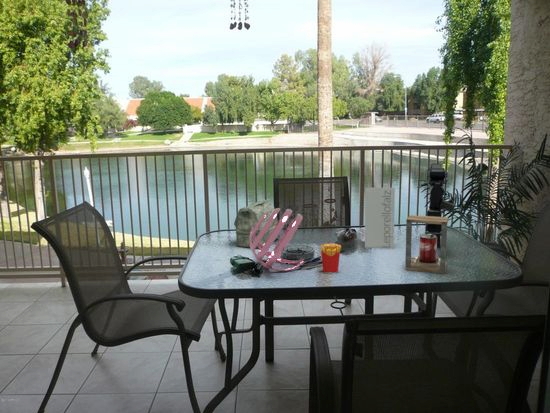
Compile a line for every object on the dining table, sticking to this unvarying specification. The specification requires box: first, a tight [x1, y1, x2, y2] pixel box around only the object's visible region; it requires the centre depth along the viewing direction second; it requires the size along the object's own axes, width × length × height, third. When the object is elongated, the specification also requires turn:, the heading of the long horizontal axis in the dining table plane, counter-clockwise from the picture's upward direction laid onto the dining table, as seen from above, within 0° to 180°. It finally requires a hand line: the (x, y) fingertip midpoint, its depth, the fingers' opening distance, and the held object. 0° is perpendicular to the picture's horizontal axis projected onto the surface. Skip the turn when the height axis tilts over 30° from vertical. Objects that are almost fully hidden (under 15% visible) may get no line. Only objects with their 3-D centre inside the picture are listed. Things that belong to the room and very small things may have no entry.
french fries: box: [320, 243, 342, 274], centre depth 195 cm, size 8×4×12 cm, turn 85°
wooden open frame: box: [404, 214, 449, 275], centre depth 196 cm, size 16×16×22 cm
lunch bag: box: [233, 199, 280, 249], centre depth 245 cm, size 26×18×22 cm
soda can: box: [418, 233, 438, 264], centre depth 199 cm, size 7×7×12 cm
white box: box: [364, 187, 396, 249], centre depth 229 cm, size 14×6×30 cm, turn 76°
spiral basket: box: [249, 207, 305, 272], centre depth 201 cm, size 28×28×27 cm
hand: (435, 227), depth 213 cm, fingers open, 9 cm apart
